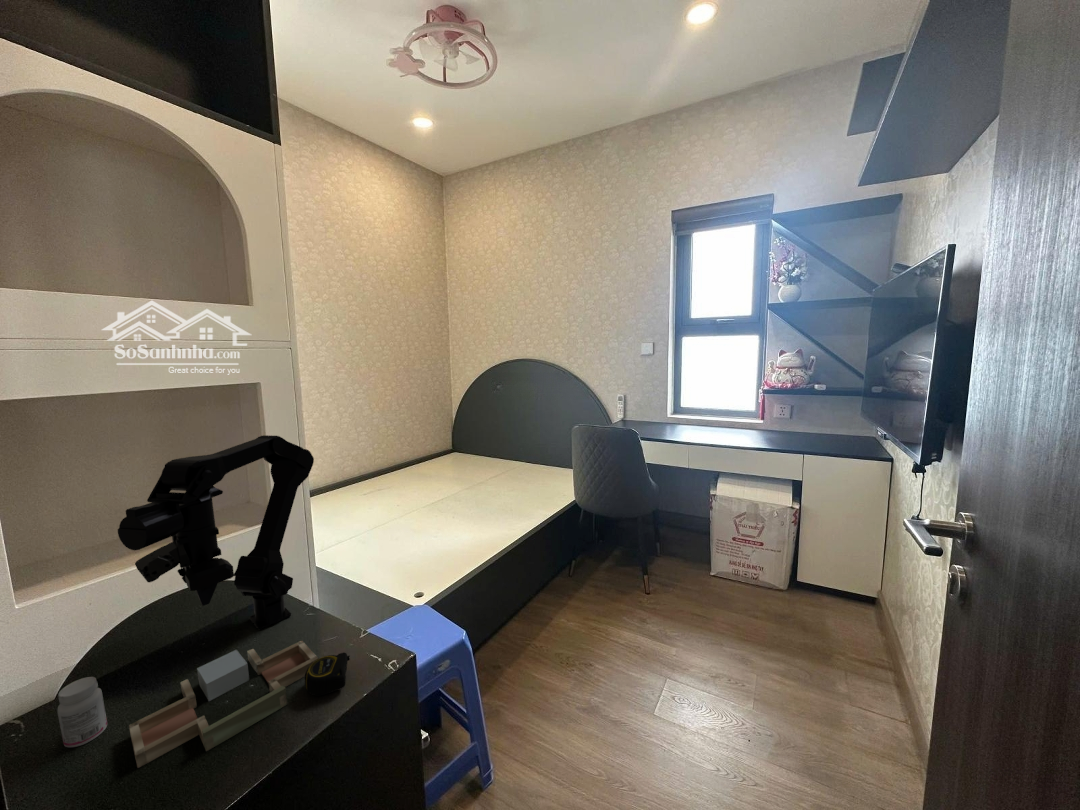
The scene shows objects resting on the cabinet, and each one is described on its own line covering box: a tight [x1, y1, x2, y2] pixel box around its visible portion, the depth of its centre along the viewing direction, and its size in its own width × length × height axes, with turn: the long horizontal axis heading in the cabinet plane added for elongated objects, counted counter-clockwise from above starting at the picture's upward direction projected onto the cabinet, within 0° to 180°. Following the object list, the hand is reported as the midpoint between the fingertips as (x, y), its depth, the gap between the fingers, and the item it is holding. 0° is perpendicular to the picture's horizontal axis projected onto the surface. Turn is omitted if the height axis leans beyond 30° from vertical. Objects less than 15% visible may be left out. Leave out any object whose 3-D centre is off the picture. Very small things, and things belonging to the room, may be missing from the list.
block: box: [196, 649, 250, 702], centre depth 76 cm, size 6×6×4 cm
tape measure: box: [304, 652, 351, 697], centre depth 75 cm, size 7×7×4 cm
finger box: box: [128, 640, 320, 769], centre depth 73 cm, size 18×25×3 cm
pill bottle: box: [57, 676, 108, 748], centre depth 66 cm, size 5×5×8 cm
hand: (205, 604), depth 80 cm, fingers closed
